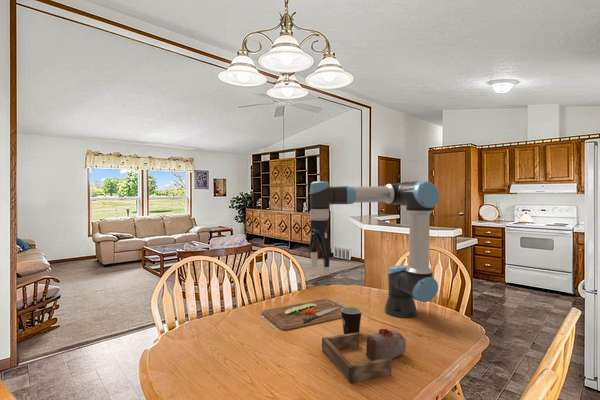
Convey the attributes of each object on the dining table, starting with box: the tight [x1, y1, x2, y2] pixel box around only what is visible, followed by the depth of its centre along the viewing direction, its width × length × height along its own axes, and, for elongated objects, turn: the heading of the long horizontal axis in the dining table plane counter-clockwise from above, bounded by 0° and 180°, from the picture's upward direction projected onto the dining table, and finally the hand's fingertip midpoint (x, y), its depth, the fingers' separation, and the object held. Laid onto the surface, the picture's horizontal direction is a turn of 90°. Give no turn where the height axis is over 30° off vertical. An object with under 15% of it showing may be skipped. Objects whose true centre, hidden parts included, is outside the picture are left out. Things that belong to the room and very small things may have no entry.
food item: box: [365, 328, 407, 361], centre depth 124 cm, size 14×8×10 cm, turn 117°
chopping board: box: [259, 298, 348, 332], centre depth 167 cm, size 45×27×3 cm, turn 119°
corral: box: [321, 332, 392, 384], centre depth 120 cm, size 15×23×5 cm, turn 19°
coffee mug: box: [341, 306, 363, 335], centre depth 145 cm, size 12×9×10 cm
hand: (319, 271), depth 139 cm, fingers open, 13 cm apart
